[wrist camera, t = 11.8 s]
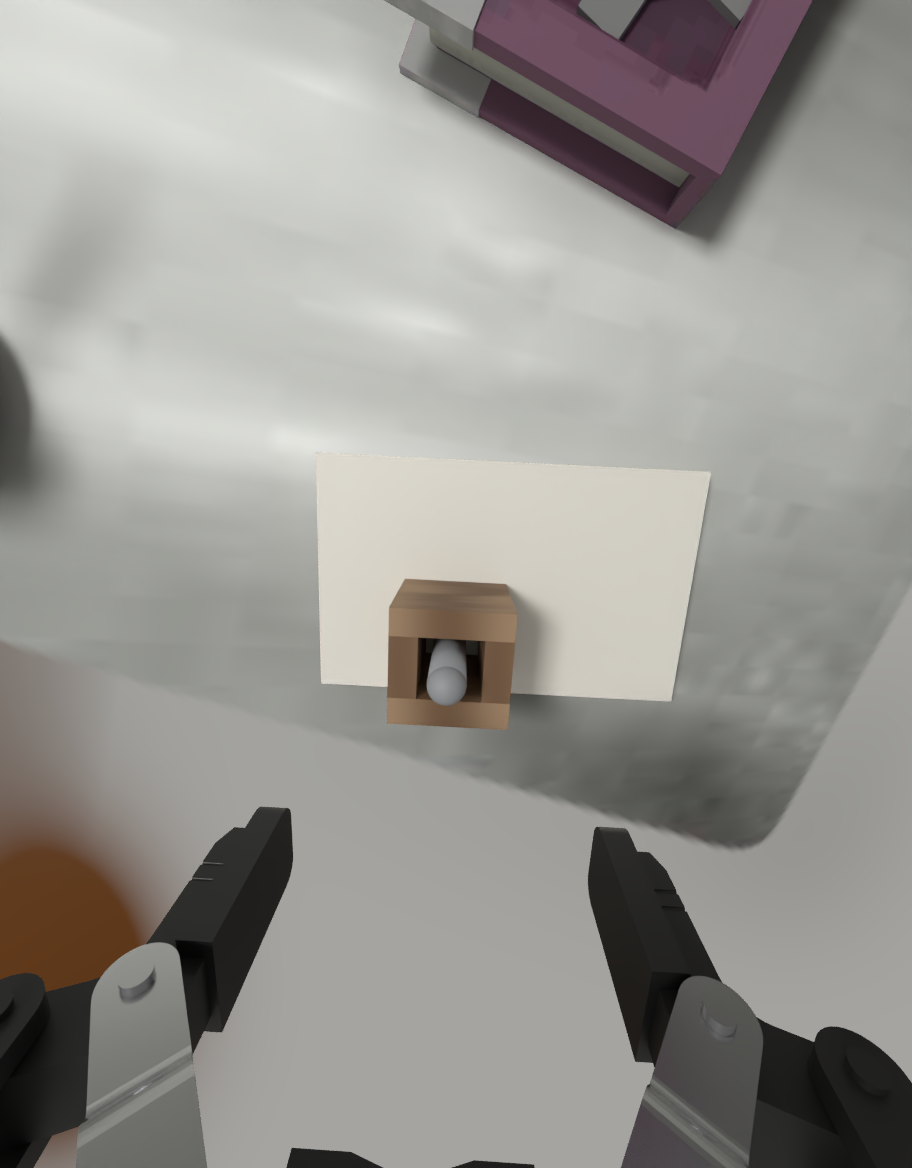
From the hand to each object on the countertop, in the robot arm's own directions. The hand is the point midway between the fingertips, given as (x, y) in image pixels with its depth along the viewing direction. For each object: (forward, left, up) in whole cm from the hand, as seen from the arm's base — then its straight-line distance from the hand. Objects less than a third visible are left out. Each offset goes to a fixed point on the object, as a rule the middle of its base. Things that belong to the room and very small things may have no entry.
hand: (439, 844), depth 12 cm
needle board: (-3, -3, -18) cm, 18 cm away
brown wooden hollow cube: (0, 0, -16) cm, 16 cm away
